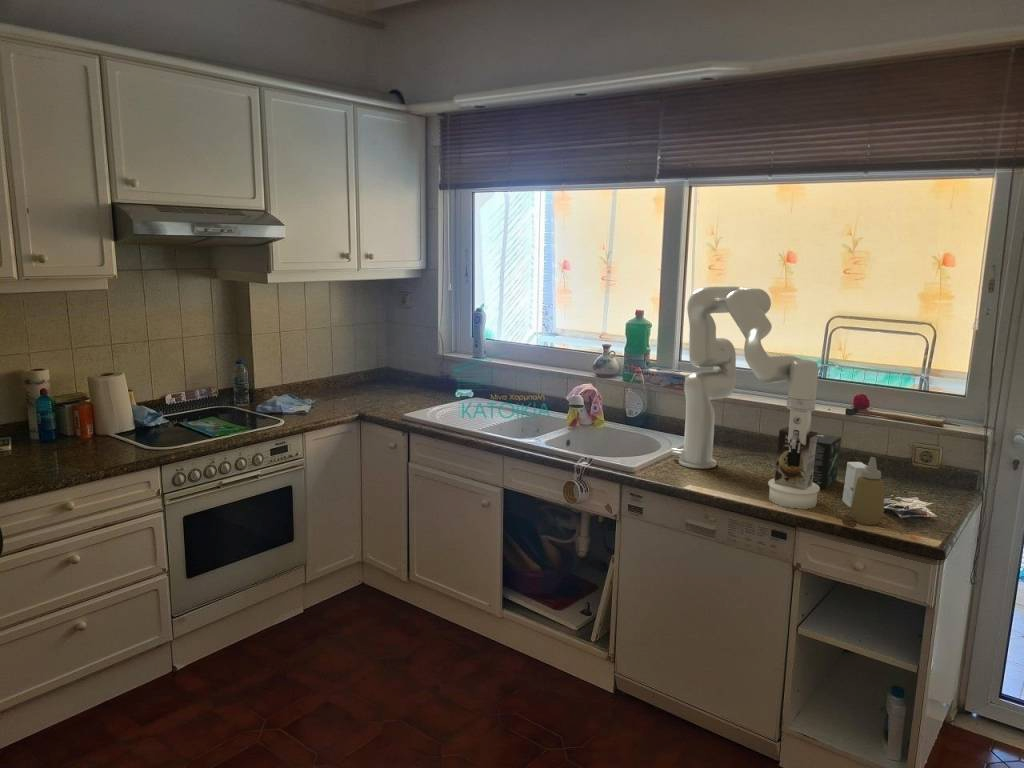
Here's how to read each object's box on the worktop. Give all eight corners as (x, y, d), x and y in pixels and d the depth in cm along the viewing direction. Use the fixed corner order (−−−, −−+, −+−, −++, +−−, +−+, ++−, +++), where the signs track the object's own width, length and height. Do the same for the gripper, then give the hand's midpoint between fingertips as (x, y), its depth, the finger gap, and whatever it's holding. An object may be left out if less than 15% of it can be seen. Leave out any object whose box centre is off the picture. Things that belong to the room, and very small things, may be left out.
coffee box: (773, 483, 217) (777, 429, 214) (782, 478, 222) (786, 426, 219) (804, 490, 211) (809, 435, 208) (813, 485, 216) (818, 431, 213)
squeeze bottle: (887, 522, 202) (894, 458, 199) (875, 529, 197) (883, 464, 193) (856, 514, 208) (863, 451, 204) (844, 521, 202) (851, 457, 199)
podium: (763, 504, 215) (764, 487, 214) (771, 490, 227) (772, 474, 226) (814, 512, 208) (816, 495, 207) (820, 498, 220) (822, 482, 219)
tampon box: (807, 475, 243) (811, 431, 240) (837, 481, 237) (841, 436, 234) (796, 483, 234) (800, 438, 231) (826, 489, 228) (831, 443, 226)
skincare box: (841, 501, 218) (845, 461, 216) (856, 501, 218) (861, 461, 216) (850, 508, 212) (854, 467, 210) (866, 508, 212) (870, 467, 210)
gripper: (811, 411, 203) (805, 471, 206) (818, 399, 218) (813, 456, 221) (782, 407, 206) (777, 467, 210) (791, 397, 221) (786, 452, 224)
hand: (795, 461), depth 215 cm, fingers open, 9 cm apart
